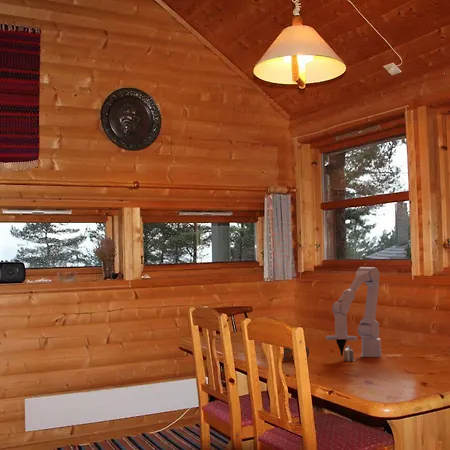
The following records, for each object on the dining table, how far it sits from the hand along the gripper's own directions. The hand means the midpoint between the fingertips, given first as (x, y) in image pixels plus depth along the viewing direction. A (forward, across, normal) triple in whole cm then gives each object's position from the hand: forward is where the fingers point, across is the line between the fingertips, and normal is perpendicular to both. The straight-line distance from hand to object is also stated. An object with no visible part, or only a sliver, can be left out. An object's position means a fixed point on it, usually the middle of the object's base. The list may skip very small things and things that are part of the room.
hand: (341, 355), depth 298 cm
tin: (+3, -23, -2) cm, 23 cm away
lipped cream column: (+2, +2, +3) cm, 4 cm away
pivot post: (+2, +2, +10) cm, 11 cm away
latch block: (+2, +4, +1) cm, 5 cm away
